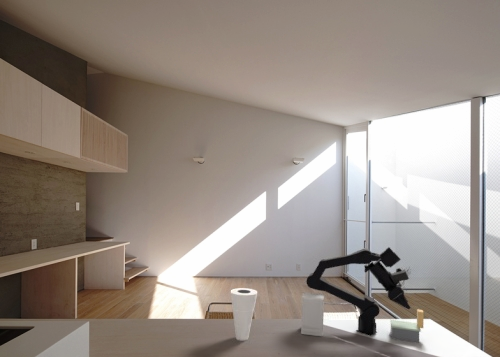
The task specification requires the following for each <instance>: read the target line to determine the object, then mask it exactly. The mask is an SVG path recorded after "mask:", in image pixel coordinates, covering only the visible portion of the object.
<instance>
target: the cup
mask: <svg viewBox="0 0 500 357" xmlns="http://www.w3.org/2000/svg"><path fill="white" fill-rule="evenodd" d="M257 298H258V290H256V289H254V288H248V287H239V288H238V287H236V288H233V289H231V290H230V299H231V307H232V314H233V322H234V325H233V326H234V331H235V332H234V333H235V340H237V341H241V342H242V341H244V342H245V341H248V339H249V336H250V330H251V326H252V321H253V316H254V312H255V306H256V301H257Z"/></svg>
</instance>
